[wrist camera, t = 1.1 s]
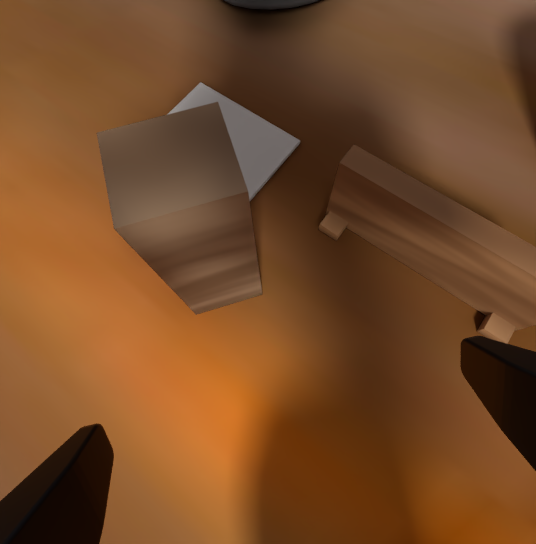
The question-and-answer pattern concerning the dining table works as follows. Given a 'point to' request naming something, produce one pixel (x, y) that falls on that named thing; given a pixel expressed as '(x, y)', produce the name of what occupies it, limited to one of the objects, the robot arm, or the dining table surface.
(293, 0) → the casserole
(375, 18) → the dining table surface
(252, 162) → the felt mat
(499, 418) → the robot arm
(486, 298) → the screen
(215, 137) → the plain brown block
